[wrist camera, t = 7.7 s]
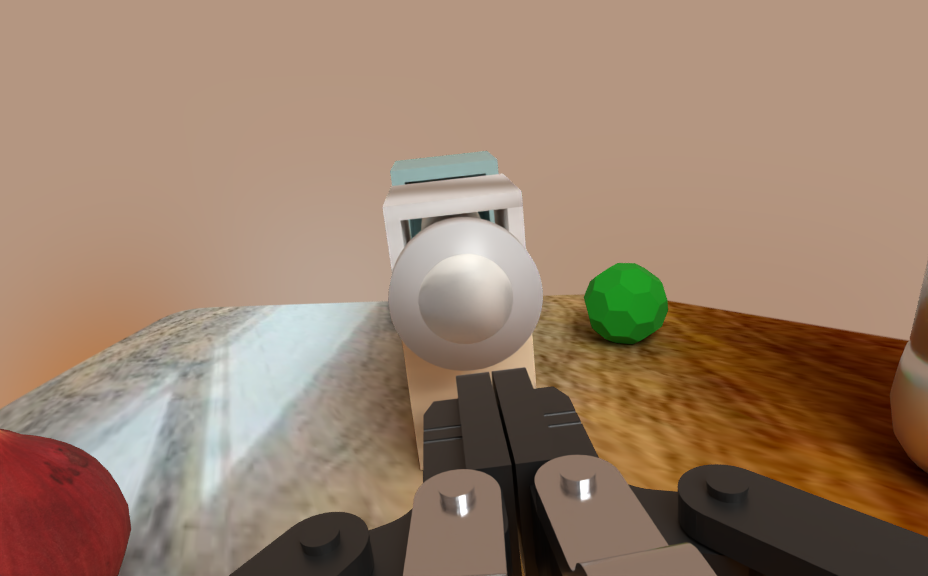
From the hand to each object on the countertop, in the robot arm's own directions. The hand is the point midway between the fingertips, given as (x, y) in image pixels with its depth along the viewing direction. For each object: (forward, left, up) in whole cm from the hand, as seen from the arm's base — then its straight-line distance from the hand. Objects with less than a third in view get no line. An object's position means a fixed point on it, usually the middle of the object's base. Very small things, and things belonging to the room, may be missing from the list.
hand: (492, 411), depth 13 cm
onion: (-8, +13, -9) cm, 18 cm away
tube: (+11, +13, -3) cm, 17 cm away
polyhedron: (+23, +11, -9) cm, 27 cm away
